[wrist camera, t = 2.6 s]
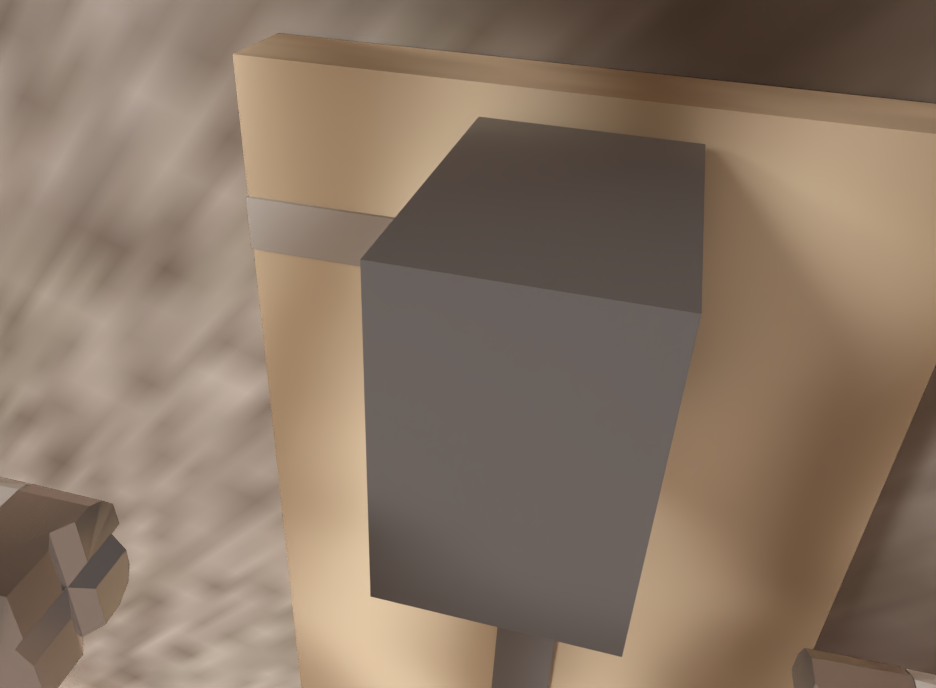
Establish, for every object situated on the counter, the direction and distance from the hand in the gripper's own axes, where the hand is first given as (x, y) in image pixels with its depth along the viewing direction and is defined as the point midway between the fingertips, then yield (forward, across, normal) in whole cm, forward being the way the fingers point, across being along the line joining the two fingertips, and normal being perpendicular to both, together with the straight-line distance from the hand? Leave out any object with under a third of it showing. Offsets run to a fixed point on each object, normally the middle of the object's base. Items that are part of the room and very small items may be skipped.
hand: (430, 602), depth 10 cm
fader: (+8, -1, 0) cm, 8 cm away
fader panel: (+10, -1, +9) cm, 14 cm away
